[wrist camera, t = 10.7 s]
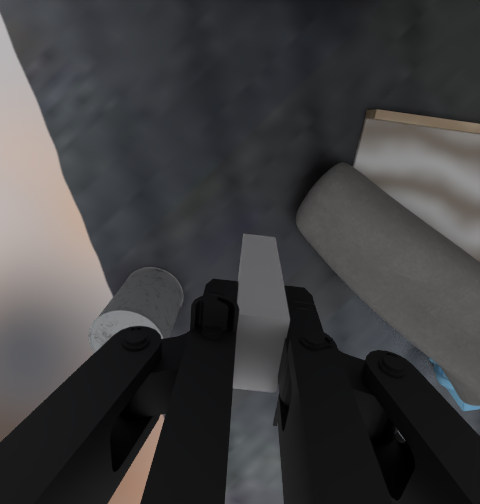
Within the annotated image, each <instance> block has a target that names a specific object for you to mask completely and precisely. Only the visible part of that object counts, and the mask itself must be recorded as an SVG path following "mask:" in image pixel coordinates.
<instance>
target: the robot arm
mask: <svg viewBox="0 0 480 504" xmlns="http://www.w3.org/2000/svg"><path fill="white" fill-rule="evenodd" d="M277 385H279V397H278V402H277V407H276V412H275V417H274V422H273V426H277V422H278V431H279V444H280V457H281V470H282V483H283V496H284V504H480V436H479V435H478V434H477V433H476V432H475V431H474V430H473V429H472V427H471V426H470V425H469V424H468V423H467V422H466V421H465V420H464V419H463V418H462V417H461V416H460V415H459V414H458V413H457V411H456V410H455V409H454V408H453V407H452V406H451V405H450V404H449V403H448V402H447V401H446V400H445V399H444V398H443V396H442V395H441V394H440V393H439V392H438V391H437V390H436V389H435V388H434V387H433V386H432V385H431V384H430V383H429V382H428V380H427V379H426V378H425V377H424V376H423V375H422V374H421V373H420V372H419V371H418V370H417V369H416V368H415V367H414V366H413V365H412V364H411V363H410V362H409V361H407V360H406V359H405V358H403V357H401V356H399V355H397V354H395V353H392V352H388V351H381V350H377V351H372V352H370V353H369V354H368V355H367V357H366V360H362V359H359V358H356V357H353V356H350V355H347V354H345V353H342V352H341V351H339V350H338V348H337V345H336V343H335V342H334V340H333V339H332V338H331V337H330V336H329V335H327V334H326V333H324V332H323V329H322V325H321V322H320V319H319V316H318V313H317V311H316V307H315V305H314V301H313V297H312V295H311V294H310V293H309V292H308V291H307V290H306V289H305V288H303V287H293V286H284V283H283V277H282V271H281V266H280V260H279V255H278V249H277V243H276V238H275V237H269V236H260V235H250V234H243V240H242V249H241V258H240V267H239V276H238V281H229V280H220V279H212V280H211V281H210V282H209V283H207V284H206V287H205V290H204V294H203V296H201V297H199V298H197V299H195V300H194V302H193V303H192V305H191V324H190V331H189V332H187V333H185V334H183V335H181V336H177V337H172V338H163V339H161V335H160V334H159V333H158V332H157V330H155V329H153V328H150V327H146V326H132V327H128V328H125V329H122V330H120V331H119V332H117V333H116V334H114V335H113V336H112V337H111V338H110V339H109V340H108V341H107V342H106V343H105V344H104V345H103V346H102V347H100V348H99V349H98V350H97V351H96V352H95V353H94V354H93V355H92V356H91V357H90V358H89V359H88V360H87V361H86V362H85V363H84V364H83V365H81V366H80V367H79V368H78V369H77V370H76V371H75V372H74V373H73V374H72V375H71V376H70V377H69V378H68V379H67V380H66V381H65V382H63V383H62V384H61V385H60V386H59V387H58V388H57V389H56V390H55V391H54V392H53V393H52V394H51V395H50V396H49V397H48V398H47V399H46V400H44V402H43V403H41V404H40V405H39V406H38V407H37V408H36V409H35V410H34V411H33V412H32V413H31V414H30V415H29V416H28V417H27V418H26V419H24V420H23V421H22V422H21V423H20V424H19V425H18V426H17V427H16V428H15V429H14V430H13V431H12V432H11V433H10V434H9V435H8V436H7V437H5V438H4V439H3V440H2V441H1V442H0V504H107V503H108V502H109V500H110V499H111V497H112V495H113V494H114V492H115V491H116V489H117V487H118V486H119V484H120V482H121V481H122V479H123V477H124V476H125V474H126V472H127V471H128V469H129V467H130V466H131V464H132V462H133V461H134V459H135V457H136V456H137V454H138V453H139V450H140V449H141V448H142V446H143V444H144V443H145V441H146V439H147V438H148V436H149V434H150V433H151V431H152V429H153V428H154V426H155V424H156V423H157V421H158V419H159V416H160V415H161V414H166V416H165V419H164V423H163V426H162V430H161V433H160V437H159V440H158V444H157V447H156V451H155V454H154V458H153V461H152V465H151V468H150V472H149V475H148V479H147V482H146V486H145V490H144V493H143V496H142V500H141V503H140V504H225V489H226V475H227V461H228V447H229V433H230V419H231V405H232V391H233V388H236V389H245V390H254V391H264V392H273V393H276V390H277ZM397 431H399V432H400V433H401V435H402V436H403V438H404V439H405V440H406V441H405V440H404V439H403V438H402V437H401V436H400V435H399V433H398V432H397Z"/></svg>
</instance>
